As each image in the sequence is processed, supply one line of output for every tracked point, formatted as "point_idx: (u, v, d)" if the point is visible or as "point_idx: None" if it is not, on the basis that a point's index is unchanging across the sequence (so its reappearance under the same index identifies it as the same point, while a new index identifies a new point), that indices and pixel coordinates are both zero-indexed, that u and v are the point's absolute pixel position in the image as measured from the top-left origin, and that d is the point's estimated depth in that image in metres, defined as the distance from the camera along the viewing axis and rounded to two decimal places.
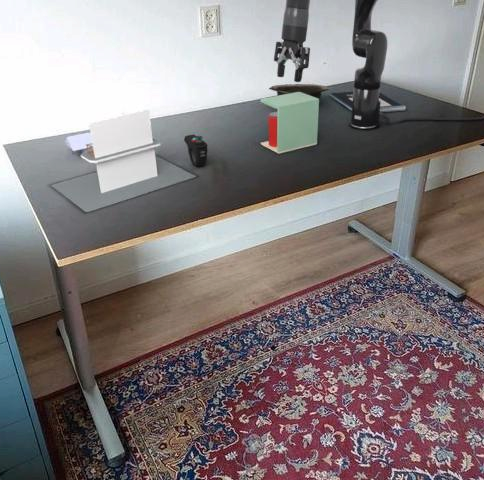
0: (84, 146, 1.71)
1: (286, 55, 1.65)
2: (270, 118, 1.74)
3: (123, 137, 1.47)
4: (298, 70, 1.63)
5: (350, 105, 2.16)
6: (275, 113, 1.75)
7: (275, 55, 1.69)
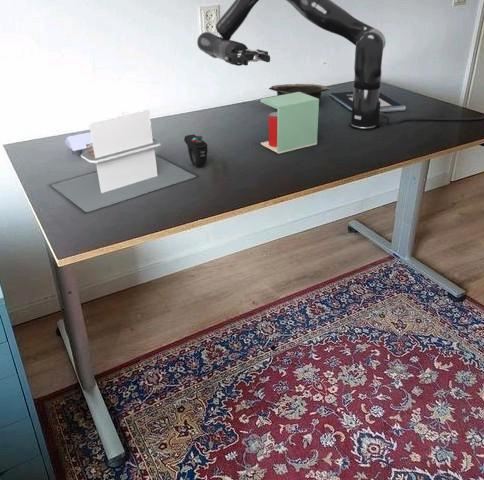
0: (84, 146, 1.71)
1: None
2: (270, 118, 1.74)
3: (123, 137, 1.47)
4: (239, 62, 1.76)
5: (350, 105, 2.15)
6: (275, 113, 1.75)
7: None
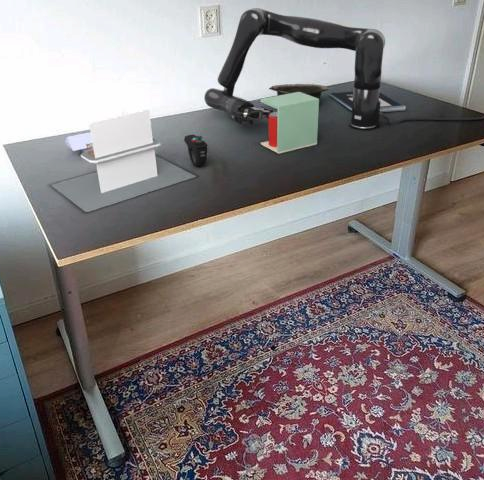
0: (84, 146, 1.71)
1: None
2: (270, 118, 1.74)
3: (123, 137, 1.47)
4: None
5: (350, 105, 2.15)
6: (275, 113, 1.75)
7: None
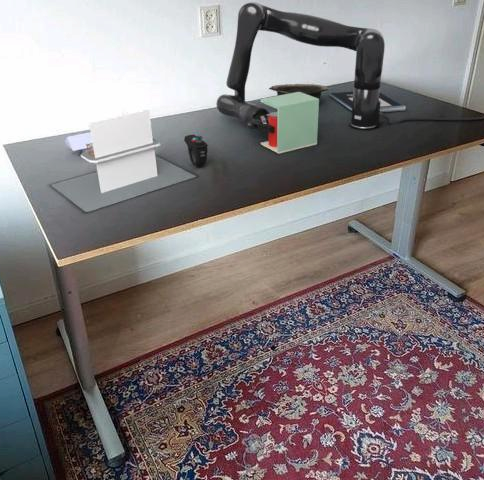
0: (84, 146, 1.71)
1: None
2: (270, 118, 1.74)
3: (123, 137, 1.47)
4: None
5: (350, 105, 2.15)
6: (275, 113, 1.75)
7: None
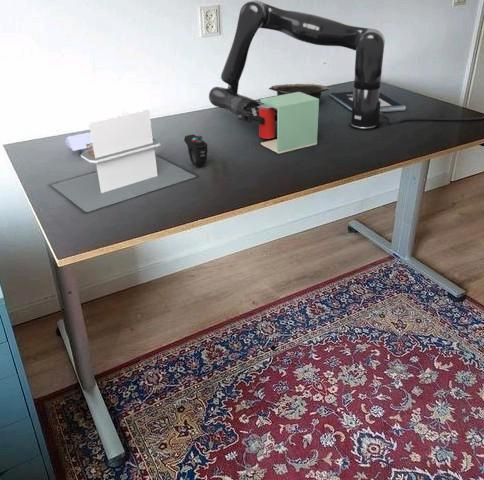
0: (84, 146, 1.71)
1: None
2: (260, 110, 1.77)
3: (123, 137, 1.47)
4: None
5: (350, 105, 2.15)
6: (265, 105, 1.79)
7: None
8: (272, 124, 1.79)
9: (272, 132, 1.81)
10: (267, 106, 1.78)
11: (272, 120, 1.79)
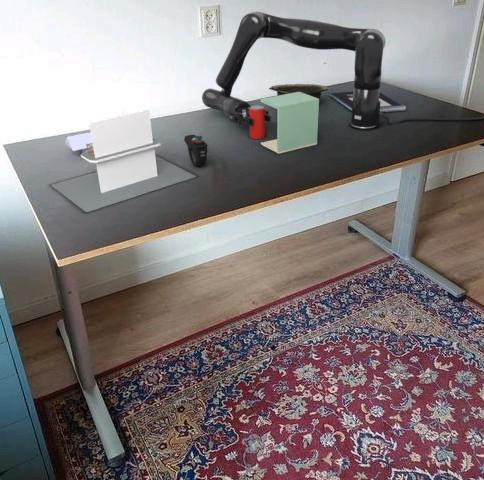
0: (84, 146, 1.71)
1: None
2: (250, 111, 1.83)
3: (123, 137, 1.47)
4: None
5: (350, 105, 2.15)
6: (255, 106, 1.84)
7: None
8: (262, 125, 1.85)
9: (262, 132, 1.86)
10: (257, 107, 1.84)
11: (262, 121, 1.84)
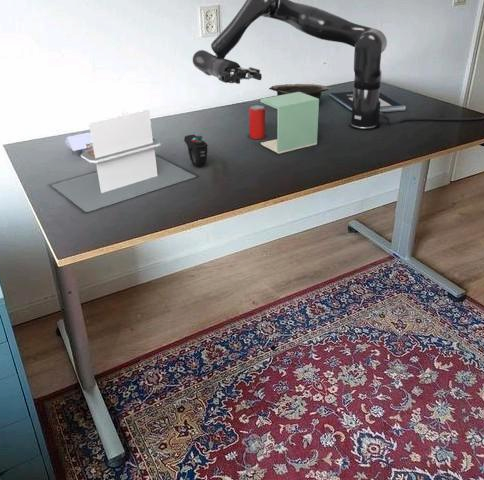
0: (84, 146, 1.71)
1: None
2: (250, 111, 1.83)
3: (123, 137, 1.47)
4: None
5: (350, 105, 2.15)
6: (255, 106, 1.84)
7: None
8: (262, 125, 1.85)
9: (262, 132, 1.86)
10: (257, 107, 1.84)
11: (262, 121, 1.84)
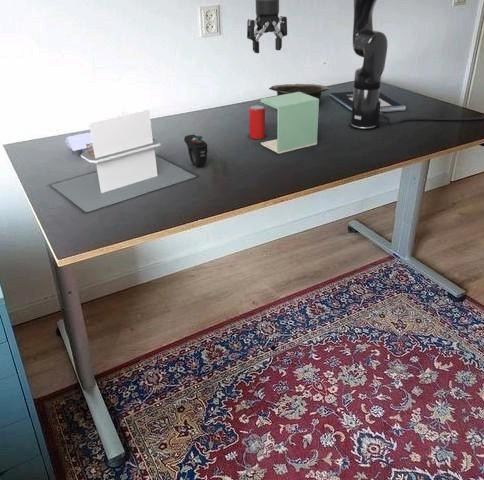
0: (84, 146, 1.71)
1: None
2: (250, 111, 1.83)
3: (123, 137, 1.47)
4: None
5: (350, 105, 2.15)
6: (255, 106, 1.84)
7: None
8: (262, 125, 1.85)
9: (262, 132, 1.86)
10: (257, 107, 1.84)
11: (262, 121, 1.84)
